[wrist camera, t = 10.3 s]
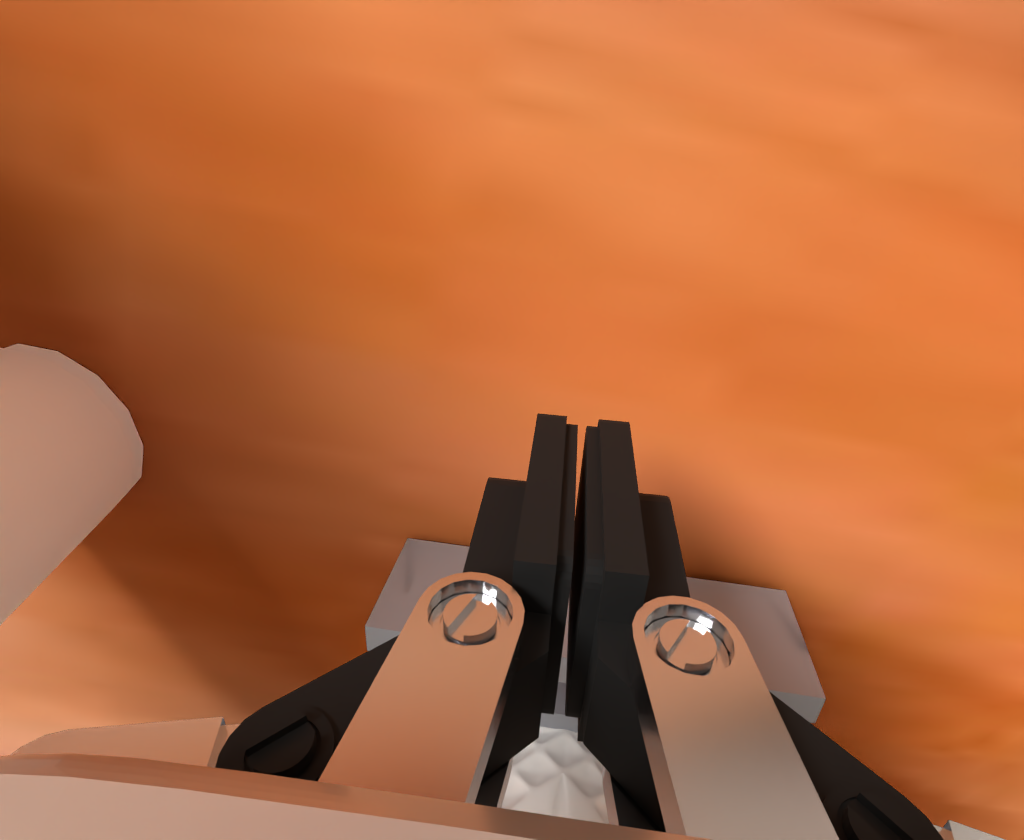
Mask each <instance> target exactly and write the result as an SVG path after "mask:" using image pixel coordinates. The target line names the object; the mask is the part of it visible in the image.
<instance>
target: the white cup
mask: <svg viewBox="0 0 1024 840" xmlns="http://www.w3.org/2000/svg"><path fill="white" fill-rule="evenodd" d="M577 736H578V733H576V732H573V731H570V730H565V729H553V728H547V727H541V726H540V730H539V738H538V739H536V740H535V741H534V742H532V743H531V744H530V745H528V746H527V747H526V748H524V749H523V750H522V751H520V752H519V753H518V754H516V755H515V756H514V757H513V761H512V770H511V774H510V778H509V782H508V785H507V789H506V793H505V796H504V800H503V804H502V807H501V808H504V809H511V810H517V811H524V812H531V813H538V814H544V815H551V816H558V817H565V818H571V819H578V820H585V821H592V822H598V823H605V824H609V820H608V814H607V808H606V802H605V796H604V790H603V784H602V768H603V765H602V764H601V763H600V762H599V761H598V760H597V759H596V757H595V756H594V755H593V754H592V753H591V752H590V751H589V750H588V749H587V748H586V746H585V745H584V744H583V742H580V741H577Z"/></svg>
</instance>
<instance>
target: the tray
mask: <svg viewBox="0 0 1024 840" xmlns="http://www.w3.org/2000/svg"><path fill="white" fill-rule="evenodd" d="M468 551H469V547H468V546H461V545H454V544H446V543H439V542H432V541H425V540H418V539H411V538H408V539H407V541H406V543H405V545H404V547H403V549H402V551H401V553H400V555H399V557H398V559H397V561H396V563H395V565H394V567H393V569H392V571H391V574H390V576H389V578H388V580H387V582H386V584H385V586H384V588H383V590H382V592H381V594H380V596H379V598H378V600H377V602H376V604H375V606H374V608H373V610H372V613H371V615H370V617H369V619H368V621H367V623H366V625H365V633H366V644H367V651H370V650H372V649H374V648H375V647H377V646H379V645H381V644H383V643H385V642H387V641H389V640H390V639H392V638H394V637H396V636H398V635H399V634H400V632H401V631H402V629H403V627H404V625H405V623H406V622H407V620H408V618H409V616H410V614H411V613H412V611H413V609H414V607H415V605H416V604H417V602H418V600H419V598H420V597H421V596H422V594H423V593H424V592H425V591H426V589H427V588H428V587H429V586H431V585H432V584H434V583H435V582H437V581H438V580H440V579H441V578H444V577H447V576H450V575H453V574H456V573H463V569H464V566H465V562H466V558H467V554H468ZM686 578H687V583H688V588H689V593H690V598H692V599H695V600H698V601H701V602H704V603H707V604H708V605H710V606H712V607H713V608H715V609H717V610H719V611H720V612H722V613H723V614H724V615H725V616H726V617H727V618H728V619H730V620H731V621H732V622H733V623H734V624H735V625H736V627H737V628H738V630H739V631H740V633H741V634H742V636H743V637H744V640H745V642H746V644H747V646H748V648H749V650H750V652H751V654H752V656H753V659H754V661H755V663H756V665H757V667H758V669H759V671H760V673H761V675H762V678H763V680H764V682H765V684H766V686H767V688H768V690H769V691H770V692H771V693H772V694H774V695H775V696H776V697H777V698H779V699H780V700H781V701H783V702H784V703H785V704H786V705H788V706H789V707H790V708H792V709H793V710H794V711H795V712H797V713H798V714H799V715H801V716H802V717H803V718H804V719H806V720H807V721H808V722H810V723H815V722H816V720H817V718H818V716H819V713H820V711H821V709H822V707H823V704H824V702H825V700H826V697H825V695H824V692H823V689H822V687H821V684H820V681H819V679H818V676H817V673H816V671H815V668H814V665H813V663H812V660H811V657H810V655H809V652H808V649H807V647H806V644H805V641H804V638H803V636H802V633H801V630H800V628H799V625H798V622H797V620H796V617H795V614H794V612H793V609H792V606H791V604H790V601H789V598H788V596H787V593H786V591H784V590H777V589H770V588H763V587H755V586H748V585H741V584H734V583H727V582H719V581H712V580H705V579H698V578H691V577H686ZM568 618H569V603H568V611H567V618H566V626H565V634H564V642H563V649H562V657H561V665H560V673H559V680H558V688H557V696H556V704H555V711H554V715H552V714H545V713H541V722H540V726H541V727H547V728H553V729H565V730H570V731H573V732H576V733H578V718H575V717H567V716H565V696H566V670H567V644H568Z"/></svg>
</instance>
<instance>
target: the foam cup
mask: <svg viewBox="0 0 1024 840" xmlns="http://www.w3.org/2000/svg"><path fill="white" fill-rule="evenodd" d="M143 447H144V446H143V444H142V441H141V439H140V436H139V434H138V432H137V429H136V427H135V424H134V422H133V420H132V417H131V415H130V412H129V410H128V409H127V408H126V407H125V405H124V404H123V403H122V402H121V401H120V400H119V399H118V398H117V396H116V395H115V394H114V393H113V392H112V391H111V390H110V389H109V387H108V386H107V385H106V384H105V383H104V382H103V381H102V380H101V378H100V377H99V376H98V375H96V374H95V373H93V372H91V371H90V370H88V369H86V368H85V367H83V366H81V365H80V364H78V363H76V362H75V361H73V360H72V359H70V358H68V357H67V356H65V355H63V354H62V353H60V352H58V351H54V350H49V349H44V348H39V347H34V346H29V345H24V344H15V345H12V346H9V347H6V348H0V625H1V624H2V623H3V622H4V621H5V620H6V619H7V618H8V617H9V616H10V615H11V614H12V613H13V612H14V611H15V610H16V609H17V608H18V607H19V606H20V605H21V604H22V603H23V601H24V600H25V599H26V598H27V597H28V596H29V595H30V594H31V593H32V592H33V591H34V590H35V589H36V588H37V587H38V586H39V585H40V584H41V583H42V582H43V581H44V580H45V579H46V578H47V577H48V576H49V575H50V574H51V573H52V572H53V570H54V569H55V568H56V567H57V566H58V565H59V564H60V563H61V562H62V561H63V560H64V559H65V558H66V557H67V556H68V555H69V554H70V553H71V552H72V551H73V550H74V549H75V548H76V547H77V546H78V545H79V544H80V543H81V542H82V541H83V539H84V538H85V537H86V536H87V535H88V534H89V533H90V532H91V531H92V530H93V529H94V528H95V527H96V526H97V525H98V524H99V523H100V522H101V521H102V520H103V519H104V518H105V517H106V516H107V515H108V514H109V513H110V512H111V511H112V510H113V508H114V507H115V506H116V505H117V504H118V503H119V502H120V500H121V499H122V498H123V497H124V496H125V495H126V494H127V493H128V492H129V491H130V490H131V488H132V487H133V486H134V485H135V484H136V483H137V482H138V480H139V479H140V478H141V477H142V462H143Z"/></svg>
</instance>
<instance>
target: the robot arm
mask: <svg viewBox="0 0 1024 840" xmlns="http://www.w3.org/2000/svg"><path fill="white" fill-rule="evenodd" d="M566 420H567V416H558V415H547V414H538V415H537V421H536V427H535V433H534V439H533V445H532V451H531V457H530V464H529V470H528V476H527V481H518V480H509V479H499V478H490V477H489V478H488V481H487V484H486V487H485V491H484V495H483V499H482V502H481V506H480V510H479V513H478V517H477V521H476V525H475V528H474V532H473V536H472V539H471V543H470V547H469V551H468V554H467V558H466V562H465V566H464V569H463V573H456V574H453V575H450V576H447V577H444V578H441V579H440V580H438V581H437V582H435V583H434V584H432V585H431V586H429V587H428V588H427V589H426V591H425V592H424V593H423V594H422V596H421V597H420V598H419V600H418V602H417V604H416V605H415V607H414V609H413V611H412V613H411V614H410V616H409V618H408V620H407V622H406V623H405V625H404V627H403V629H402V631H401V632H400V634H399V635H398V636H396V637H394V638H392V639H390V640H389V641H387V642H385V643H383V644H381V645H379V646H377V647H375V648H374V649H372V650H370V651H368V652H366V653H364V654H362V655H360V656H358V657H357V658H355V659H353V660H351V661H349V662H347V663H345V664H343V665H342V666H340V667H338V668H336V669H334V670H332V671H330V672H328V673H326V674H325V675H323V676H321V677H319V678H317V679H315V680H313V681H311V682H310V683H308V684H306V685H304V686H302V687H300V688H298V689H296V690H294V691H293V692H291V693H289V694H287V695H285V696H283V697H281V698H279V699H278V700H276V701H274V702H272V703H270V704H268V705H266V706H264V707H263V708H261V709H260V710H258V711H257V712H255V713H254V714H252V715H251V716H249V717H248V718H246V719H245V720H244V721H243V722H242V723H241V724H232V725H225V721H224V718H223V717H212V718H200V719H188V720H177V721H165V722H153V723H141V724H129V725H118V726H106V727H94V728H82V729H70V730H65V731H61V732H56V733H52V734H48V735H44V736H42V737H40V738H38V739H36V740H34V741H32V742H30V743H28V744H26V745H24V746H22V747H20V748H19V749H18V750H16V751H15V752H14V753H12V754H11V755H8V756H0V840H1005V839H1002V838H999V837H996V836H994V835H991V834H988V833H985V832H982V831H979V830H977V829H974V828H971V827H968V826H965V825H962V824H959V823H957V822H954V821H951V820H948V822H947V823H946V824H945V826H944V827H943V828H942V827H939V826H936V825H933V824H932V823H931V822H930V820H929V819H928V818H927V817H926V816H925V815H924V814H923V813H922V812H921V811H920V810H919V809H918V808H917V807H916V806H914V805H913V804H912V803H911V802H910V801H909V800H908V799H907V798H906V797H905V796H903V795H902V794H901V793H899V792H898V791H897V790H896V789H894V788H893V787H892V786H890V785H889V784H888V783H887V782H885V781H884V780H883V779H881V778H880V777H879V776H878V775H876V774H875V773H874V772H872V771H871V770H870V769H869V768H867V767H866V766H865V765H863V764H862V763H861V762H860V761H858V760H857V759H856V758H854V757H853V756H852V755H851V754H849V753H848V752H847V751H846V750H844V749H843V748H842V747H840V746H839V745H838V744H837V743H835V742H834V741H833V740H831V739H830V738H829V737H828V736H826V735H825V734H824V733H822V732H821V731H820V730H819V729H817V728H816V727H815V726H813V725H812V724H811V723H810V722H808V721H807V720H806V719H804V718H803V717H802V716H801V715H799V714H798V713H797V712H795V711H794V710H793V709H792V708H790V707H789V706H788V705H786V704H785V703H784V702H783V701H781V700H780V699H779V698H777V697H776V696H775V695H774V694H772V693H771V692H770V691H769V690H768V688H767V686H766V684H765V682H764V680H763V678H762V675H761V673H760V671H759V669H758V667H757V665H756V663H755V661H754V659H753V656H752V654H751V652H750V650H749V648H748V646H747V644H746V642H745V640H744V637H743V636H742V634H741V633H740V631H739V630H738V628H737V627H736V625H735V624H734V623H733V622H732V621H731V620H730V619H728V618H727V617H726V616H725V615H724V614H723V613H722V612H720V611H719V610H717V609H715V608H713V607H712V606H710V605H708V604H707V603H704V602H701V601H698V600H695V599H692V598H690V593H689V588H688V583H687V578H686V574H685V569H684V564H683V559H682V554H681V550H680V545H679V540H678V535H677V530H676V526H675V521H674V516H673V511H672V506H671V502H670V499H669V497H667V496H662V495H652V494H642V493H639V492H638V484H637V476H636V469H635V461H634V453H633V446H632V438H631V430H630V424H629V422H621V421H610V420H600V419H599V422H598V427H592V426H587V428H586V434H585V442H584V450H583V458H582V466H581V474H580V482H579V491H578V499H577V507H576V515H575V492H576V462H577V431H578V425H572V424H566ZM568 603H569V618H568V644H567V670H566V696H565V716H567V717H575V718H578V736H577V741H580V742H583V744H584V745H585V746H586V748H587V749H588V750H589V751H590V752H591V753H592V754H593V755H594V756H595V757H596V759H597V760H598V761H599V762H600V763H601V764H602V765H603V768H602V784H603V790H604V796H605V802H606V808H607V814H608V820H609V824H605V823H598V822H592V821H585V820H578V819H571V818H565V817H558V816H551V815H544V814H538V813H531V812H524V811H517V810H511V809H504V808H501V807H502V804H503V800H504V796H505V793H506V789H507V785H508V782H509V778H510V774H511V770H512V761H513V757H514V756H515V755H516V754H518V753H519V752H520V751H522V750H523V749H524V748H526V747H527V746H528V745H530V744H531V743H532V742H534V741H535V740H536V739H538V738H539V730H540V722H541V713H545V714H552V715H554V711H555V704H556V696H557V688H558V680H559V673H560V665H561V657H562V649H563V642H564V634H565V626H566V618H567V611H568Z"/></svg>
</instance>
